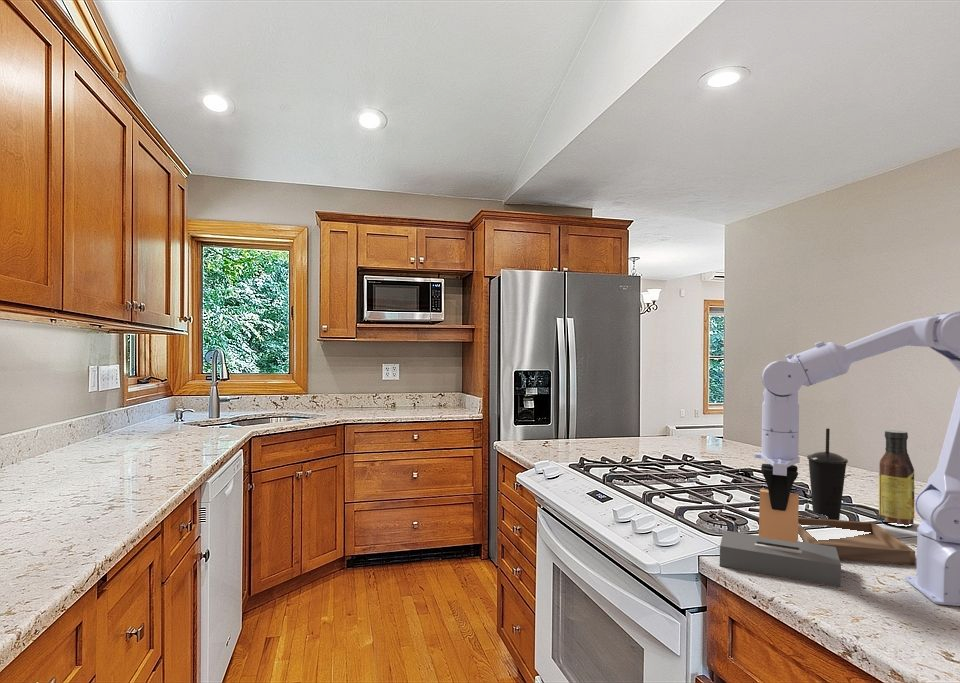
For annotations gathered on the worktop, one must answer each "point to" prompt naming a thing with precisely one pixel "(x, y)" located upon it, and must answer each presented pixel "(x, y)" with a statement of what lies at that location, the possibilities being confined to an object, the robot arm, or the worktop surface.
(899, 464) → the sauce bottle
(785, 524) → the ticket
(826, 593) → the worktop surface
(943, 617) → the worktop surface
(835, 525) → the tray
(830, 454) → the drinking cup
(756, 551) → the dispenser
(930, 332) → the robot arm
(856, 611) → the worktop surface
